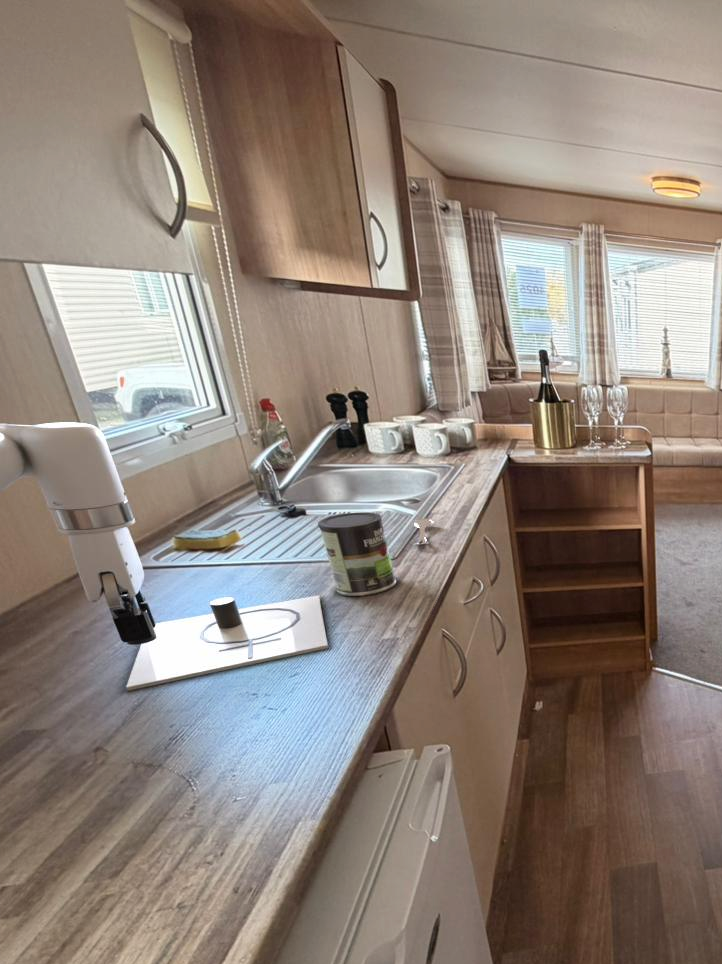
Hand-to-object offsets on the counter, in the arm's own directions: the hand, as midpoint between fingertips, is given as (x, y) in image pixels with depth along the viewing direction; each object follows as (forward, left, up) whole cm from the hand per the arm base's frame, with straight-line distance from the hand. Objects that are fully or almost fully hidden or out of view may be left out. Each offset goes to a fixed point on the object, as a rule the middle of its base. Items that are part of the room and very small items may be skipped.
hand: (139, 633), depth 95 cm
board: (+10, +6, -6) cm, 13 cm away
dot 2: (+9, +11, -6) cm, 15 cm away
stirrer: (+44, +46, -6) cm, 64 cm away
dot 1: (0, 0, -1) cm, 1 cm away
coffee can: (+30, +20, -6) cm, 36 cm away
